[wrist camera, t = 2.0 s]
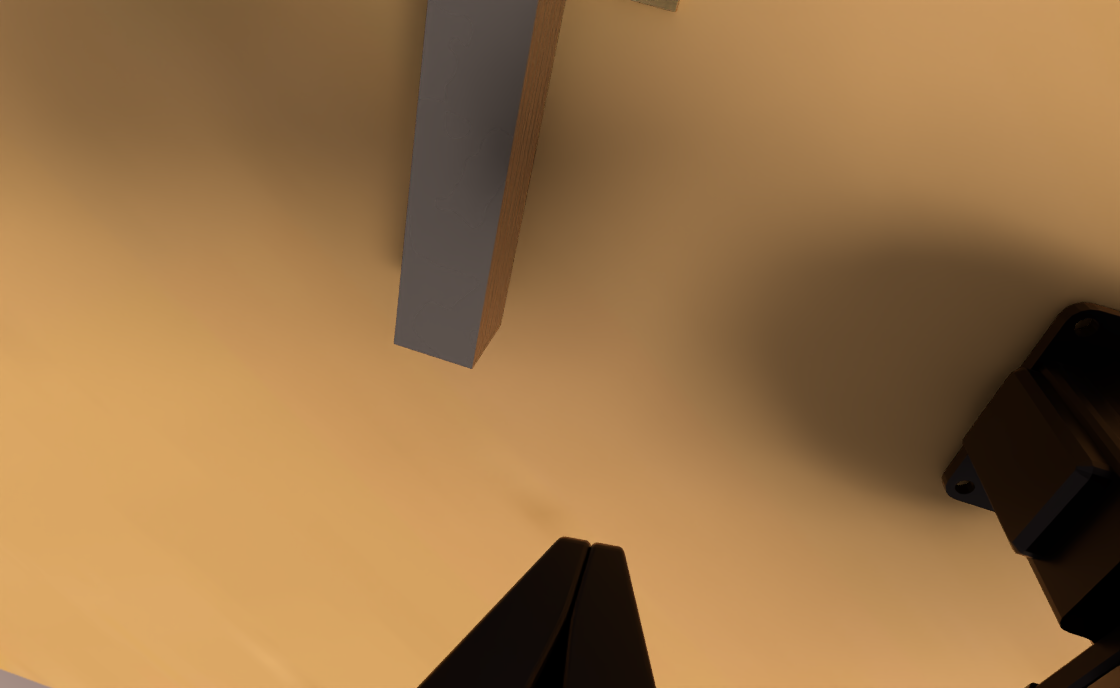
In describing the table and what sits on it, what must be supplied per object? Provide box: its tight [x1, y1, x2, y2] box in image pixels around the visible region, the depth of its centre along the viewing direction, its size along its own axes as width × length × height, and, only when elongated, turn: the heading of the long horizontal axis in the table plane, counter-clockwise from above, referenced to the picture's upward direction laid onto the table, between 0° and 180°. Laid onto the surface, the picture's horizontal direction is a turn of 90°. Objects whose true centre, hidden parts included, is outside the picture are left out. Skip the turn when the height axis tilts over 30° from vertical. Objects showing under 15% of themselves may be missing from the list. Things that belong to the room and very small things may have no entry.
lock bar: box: [394, 0, 566, 369], centre depth 15 cm, size 14×4×3 cm, turn 168°
